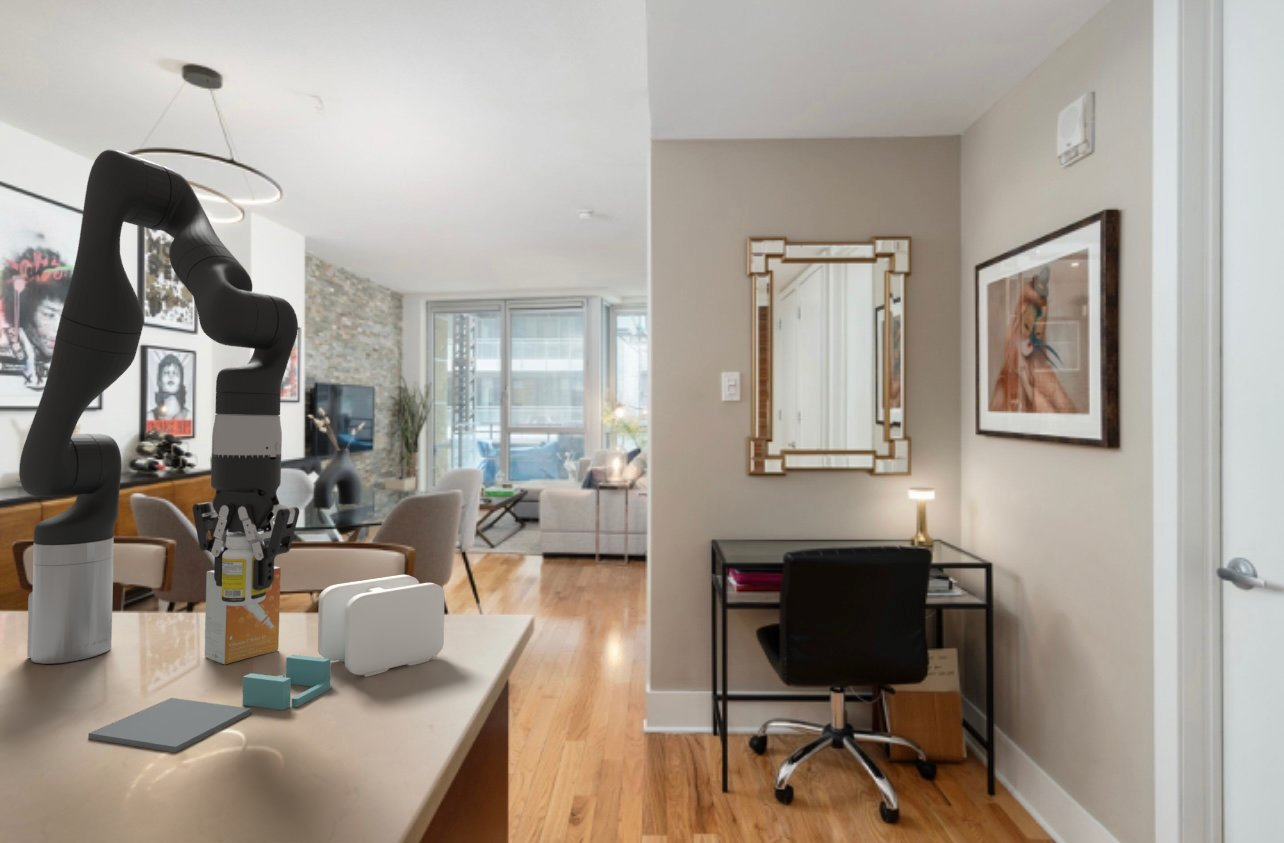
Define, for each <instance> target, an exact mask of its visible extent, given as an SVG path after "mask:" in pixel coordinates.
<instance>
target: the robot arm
mask: <svg viewBox="0 0 1284 843" xmlns="http://www.w3.org/2000/svg"><path fill="white" fill-rule="evenodd" d="M83 202H84V203H83V204H84V205H83V211H82V218H81V225H80V232H79V240H78V247H77V250H76V251H77V253H76V257H75V261H74V266H73V270H72V275H71V278H70V283H69V286H68V290H67V293H66V297H65V300H64V304H63V306H62V307H63V308H62V310H61V314H60V318H59V322H58V326H57V330H56V334H55V340H54V345H53V351H52V356H51V361H50V364H49V368H48V369H49V370H48V372H47V376H46V381H45V384H44V387H43V391H42V395H41V398H40V401H39V403H38V406H37V409H36V411H35V414H34V417H33V418H32V419H33V420H32V421H31V425H30V428H29V430H28V433H27V436H26V438H25V441H24V444H23V447H22V451H21V455H20V459H19V472H18V473H19V474H18V475H19V481H20V485H21V487H22V489H23V490H24V491H25V492H26V493H27V494H28V495H30V496H34V497H45V498H50V497H63V496H64V497H65V496H66V497H67V496H76V499H75V501H74V503H73V504H72V505H71V506H70V507H68V508H67V509H65V510H63V511H62V512H60V513H58V514H56V515H54V516H52V517H49V518H46V519H44V520H41V521H39V522H38V523H36V525H35V526H34V529H33V550H32V552H33V554H32V555H33V556H32V559H33V560H32V562H33V563H32V564H33V566H32V569H33V570H32V592H29V594H28V599H27V600H28V604H27V605H28V610H27V613H28V614H27V648H26V649H27V655H26V656H27V658H30V661H31V662H32V663H35V664H41V665H42V664H45V665H46V664H62V663H69V662H76V661H80V660H81V661H82V660H85V659H89V658H92V657H96V656H99V655H103V654H104V653H106V652H108V651H110V650H111V649H112V635H113V634H112V633H113V630H112V629H113V626H112V625H113V594H114V591H113V587H114V533H115V532H114V531H115V526H116V522H117V520H118V515H119V514H118V513H119V502H120V492H121V491H120V489H121V480H122V478H121V477H122V455H121V450H120V447H119V444H118V443H117V442H116V440H115V439H114V438H113V437H111V436H110V435H108V434H102V433H74V431H75V430H76V426H77V424H78V423H79V420H80V418H81V416H82V415H83V413H84V412H85V411H86V409H87V408H88V407H89V405H91V404H92V402H94V400H95V399H97V398H98V397H99V396H100V395H101V394H102V393H103V392H104V391H106V390H107V389H108V388H109V387H110V386H112V385H113V383H115V382H116V381H117V380H118V379H119V378H120V377H121V376H122V375H123V374H124V373H125V372H126V371H127V370H128V369H129V368H130V367H131V365H132V363H133V362H134V361H135V358H136V354H137V351H138V347H139V344H140V339H141V336H142V332H143V327H144V320H145V318H144V313H143V309H142V306H141V303H140V301H139V298H138V296H137V294H136V291H135V290H134V288H133V285H132V283H131V281H130V279H129V277H128V275H127V272H126V270H125V267H124V265H123V264H124V263H123V260H122V256H121V233H122V230H123V229H122V228H123V224H124V223H128V224H132V225H134V226H137V227H138V226H139V227H142V228H146V229H149V230H153V231H154V230H155V231H163V232H164V233H166V234H167V235H169V236H171V237H172V242H171V244H170V247H169V253H168V257H169V261H170V265H171V268H172V269H173V272H174V274H175V275H176V276H177V278H178V279H179V280H180V282H181V283H182V284H183V286H184V287H185V288H186V289H187V291H189V293H190V295H192V297H193V299H194V300H193V301H194V304H195V308H196V312H197V315H198V321H199V326H200V328H201V330H202V331H203V333H204V334H205V335H206V336H207V337H208V338H210V339H211V340H213V341H214V342H216V343H218V344H220V345H224V346H228V347H229V346H230V347H237V348H246V349H254V350H253V354H252V356H251V358H250V360H249V361H248V363H247V364H244V365H236V366H229V367H225V368H223V369H221V370H220V371H219V372H217V373H218V374H217V376H216V379H215V380H216V381H215V383H216V384H215V408H214V409H215V411H214V414H215V415H214V421H213V422H214V423H213V427H212V435H211V468H210V469H211V472H210V473H211V474H210V486H211V488H212V489H213V490H215V491H216V493H215V496H214V497H213V499H212V501H209V502H201V503H200V502H199V503H194V505H193V506H192V514H193V519H194V524H195V529H196V534H197V541H198V544H199V545H198V546H199V549H200V550H201V551H204V552H205V551H207V552H209V553H211V555H212V556H213V557H214V558H213V559H214V564H213V565H214V567H213V568H214V569H213V570H214V579H215V581H216V585H217V586H219V587H222V555H223V553H224V552H225V551H226V550H228V548H227V547H226V536H227V535H230V534H235V533H245V534H246V538H247V541H248V542H249V543H251V544H252V548H253V551H254V555H255V558H256V559H257V560H254V563H253V589H254V590H263V589H266V588H269V587H270V585H271V583H272V582H273V580H274V566H275V560H276V557H277V556H280V555H282V554H287V553H289V552H290V550H291V547H292V543H293V538H294V535H295V530H296V527H297V523H298V520H299V516H300V509H299V508H298V507H296V506H293V507H288V506H286V505H283V504H280V500H279V498H278V495H277V490H279V487H280V486H281V483H282V482H281V481H282V480H281V479H282V442H283V436H282V434H283V433H282V426H281V397H282V396H281V394H282V393H281V391H282V389H281V388H282V383H283V379H284V376H285V372H286V369H287V367H288V364H289V361H290V356H291V354H292V351H293V348H294V346H295V343H296V339H297V336H298V330H299V329H298V328H299V323H298V322H299V320H298V317H297V314H296V311H295V309H294V308H293V305H292V304H290V302H289V301H288V300H286V299H285V298H282V297H280V296H275V295H271V294H270V295H269V294H264V293H261V292H260V293H259V292H255V291H254V292H253V282H252V279H251V276H250V275H249V273H248V272H247V270H246V269H245V267H244V266H243V265H242V263H240V261H239V260H237V258H236V257H235V256H234V255H233V254H232V252H230V250H229V249H228V248H227V247H226V245H225V244H224V243H223V242H222V240H221V239H220V238H219V236H218V235H217V233H216V231H215V230H214V228H213V226H212V223H211V222H210V220H209V218H208V215H207V214H206V212H205V210H204V208H203V206H202V204H201V202H200V200H199V199H198V197H197V195H196V193H195V191H194V189H193V187H192V186H191V185H190V183H189V181H188V180H187V179H186V178H185V176H183V175H181V173H180V172H178V171H176V170H174V169H171V168H169V167H167V166H164V165H161V164H158V163H157V162H156V163H155V162H153V161H150V160H147V159H144V158H141V157H138V156H136V155H133V154H131V153H126V152H123V151H120V150H117V149H111V148H110V149H109V148H108V149H105V150H104V151H102V152H100V153H99V154H98V155H97V157H96V158H95V160H94V162H93V164H92V166H91V169H90V172H89V175H88V179H87V185H86V190H85V195H84V201H83ZM262 531H263V532H262ZM258 532H259V533H262V534H259V533H258ZM209 534H210V535H209ZM210 538H211V539H210Z"/></svg>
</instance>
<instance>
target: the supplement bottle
mask: <svg viewBox="0 0 1284 843" xmlns="http://www.w3.org/2000/svg"><path fill="white" fill-rule="evenodd" d="M258 533H259V534H262V533H263V532H258ZM226 547H227V548H228V550H226V551H225V552H224V553H223V555H222V603H223V604H225V605H228V606H243V605H250V604H255V603H259V602H261V601H263V600H264V599H265V597H266V589H263V590H254V589H253V563H254V560H257V559H256V558H255V555H254V551H253V548H252V544H251V543H249V542H248V541H247V538H246V534H245V533H235V534H230V535H227V536H226Z"/></svg>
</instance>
